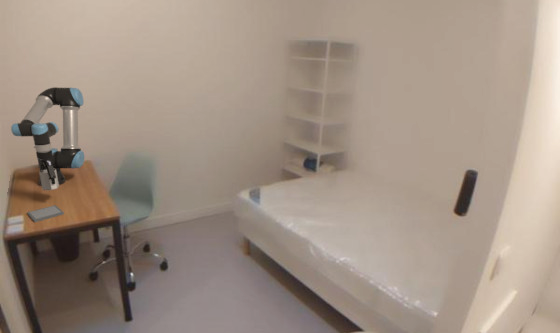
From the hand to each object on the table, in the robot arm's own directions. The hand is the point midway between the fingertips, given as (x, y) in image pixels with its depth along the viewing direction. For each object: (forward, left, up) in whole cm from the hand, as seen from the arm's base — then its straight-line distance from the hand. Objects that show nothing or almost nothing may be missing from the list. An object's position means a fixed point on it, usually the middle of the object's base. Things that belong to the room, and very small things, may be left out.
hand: (50, 185), depth 205 cm
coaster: (+15, -8, -10) cm, 20 cm away
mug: (0, 0, -2) cm, 2 cm away
